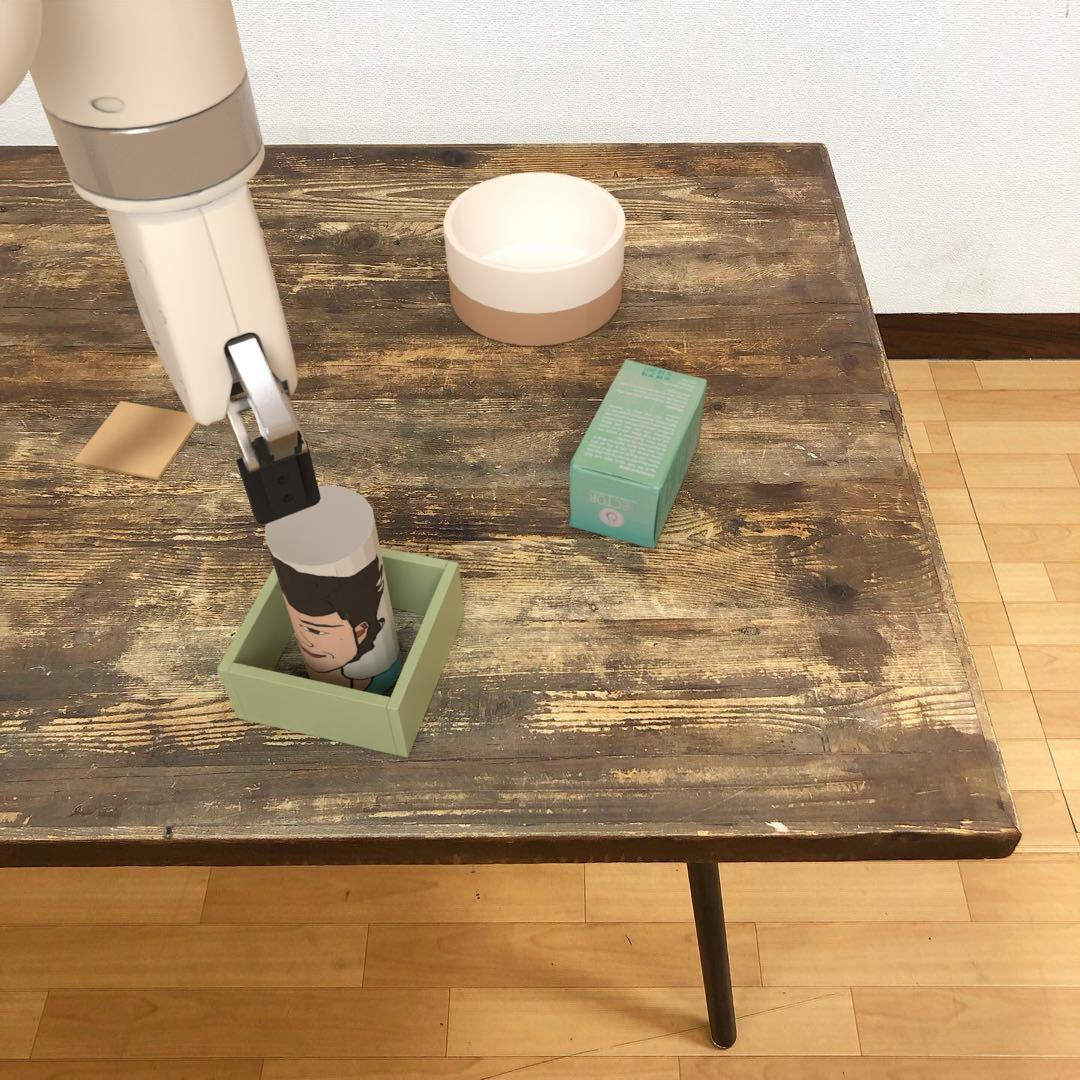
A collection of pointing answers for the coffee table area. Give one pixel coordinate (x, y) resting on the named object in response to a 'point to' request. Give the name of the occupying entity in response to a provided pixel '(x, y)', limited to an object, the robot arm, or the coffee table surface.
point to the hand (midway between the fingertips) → (255, 449)
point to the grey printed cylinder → (337, 591)
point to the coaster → (137, 440)
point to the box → (636, 453)
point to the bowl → (535, 257)
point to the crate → (336, 707)
